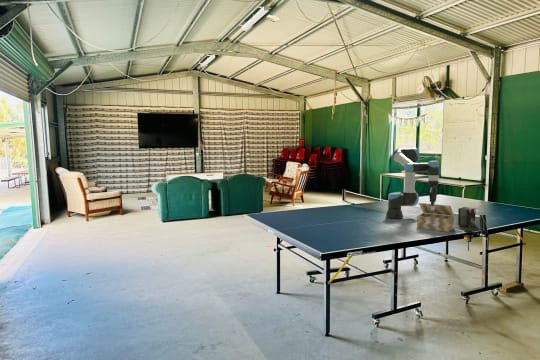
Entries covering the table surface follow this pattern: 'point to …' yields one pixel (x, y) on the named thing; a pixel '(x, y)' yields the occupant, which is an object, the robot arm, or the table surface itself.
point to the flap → (437, 209)
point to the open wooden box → (435, 222)
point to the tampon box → (466, 216)
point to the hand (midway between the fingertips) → (432, 209)
